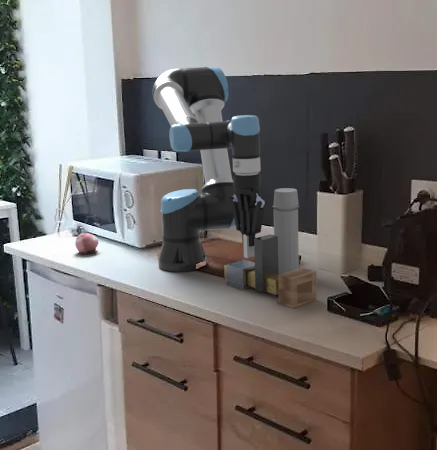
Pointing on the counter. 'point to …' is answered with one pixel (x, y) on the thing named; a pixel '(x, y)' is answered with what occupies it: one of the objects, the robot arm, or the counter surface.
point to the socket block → (297, 287)
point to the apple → (86, 243)
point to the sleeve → (238, 273)
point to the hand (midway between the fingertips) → (249, 256)
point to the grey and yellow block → (264, 265)
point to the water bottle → (286, 228)
